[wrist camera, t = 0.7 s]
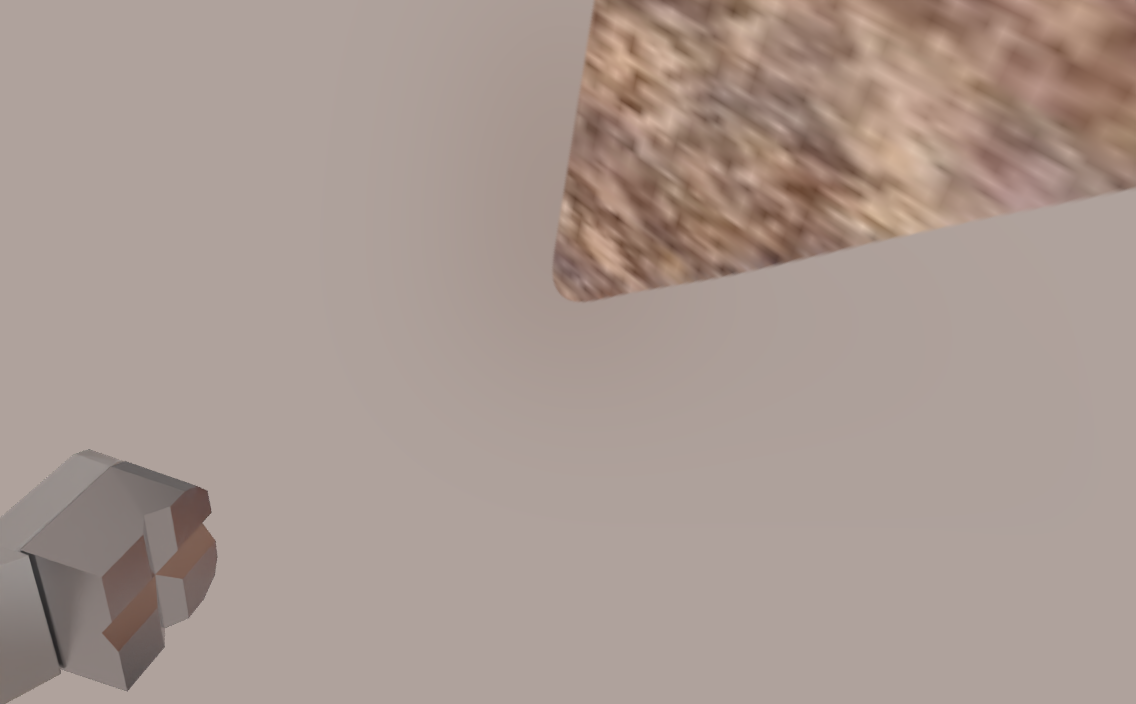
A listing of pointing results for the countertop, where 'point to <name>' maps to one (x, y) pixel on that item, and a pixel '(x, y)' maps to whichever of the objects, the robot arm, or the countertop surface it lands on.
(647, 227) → the countertop surface
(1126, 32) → the countertop surface
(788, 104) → the countertop surface
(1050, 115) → the countertop surface
